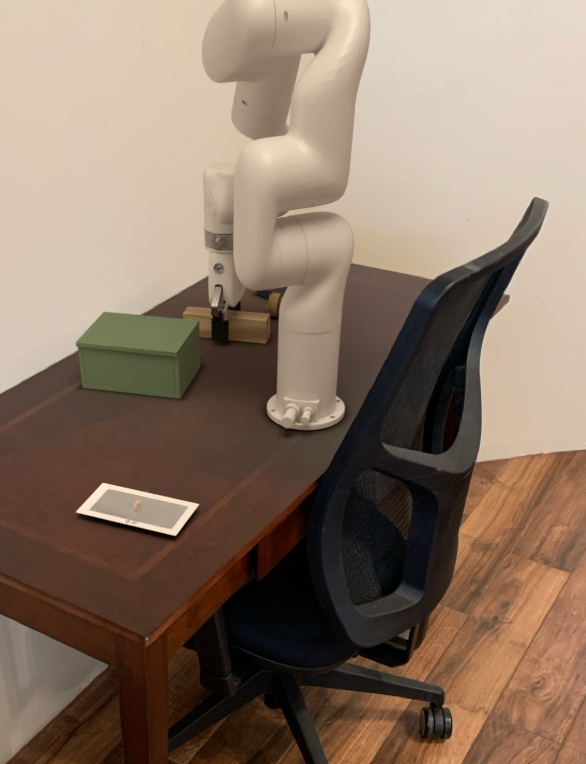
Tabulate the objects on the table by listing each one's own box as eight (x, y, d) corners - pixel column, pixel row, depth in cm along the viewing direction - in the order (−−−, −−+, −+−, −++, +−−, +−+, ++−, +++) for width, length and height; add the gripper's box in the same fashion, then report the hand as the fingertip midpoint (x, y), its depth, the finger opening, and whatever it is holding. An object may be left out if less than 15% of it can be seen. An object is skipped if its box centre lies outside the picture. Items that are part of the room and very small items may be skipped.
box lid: (177, 357, 145) (177, 352, 145) (76, 346, 149) (75, 342, 149) (199, 324, 155) (199, 320, 155) (104, 316, 159) (103, 311, 159)
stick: (265, 343, 167) (266, 320, 165) (183, 335, 171) (182, 313, 168) (269, 336, 170) (270, 313, 167) (188, 328, 174) (187, 306, 171)
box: (180, 398, 150) (178, 355, 146) (82, 387, 154) (77, 345, 150) (200, 366, 160) (199, 325, 156) (108, 356, 164) (104, 316, 159)
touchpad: (103, 489, 129) (102, 476, 128) (199, 510, 124) (199, 497, 123) (76, 518, 123) (74, 505, 122) (176, 542, 118) (175, 529, 117)
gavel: (300, 267, 190) (346, 272, 187) (298, 288, 192) (344, 294, 189) (267, 296, 174) (317, 302, 170) (266, 319, 176) (315, 326, 173)
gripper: (234, 256, 152) (234, 351, 162) (257, 224, 165) (256, 314, 176) (191, 253, 154) (194, 347, 164) (217, 221, 167) (219, 310, 177)
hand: (226, 329), depth 170 cm, fingers open, 8 cm apart
